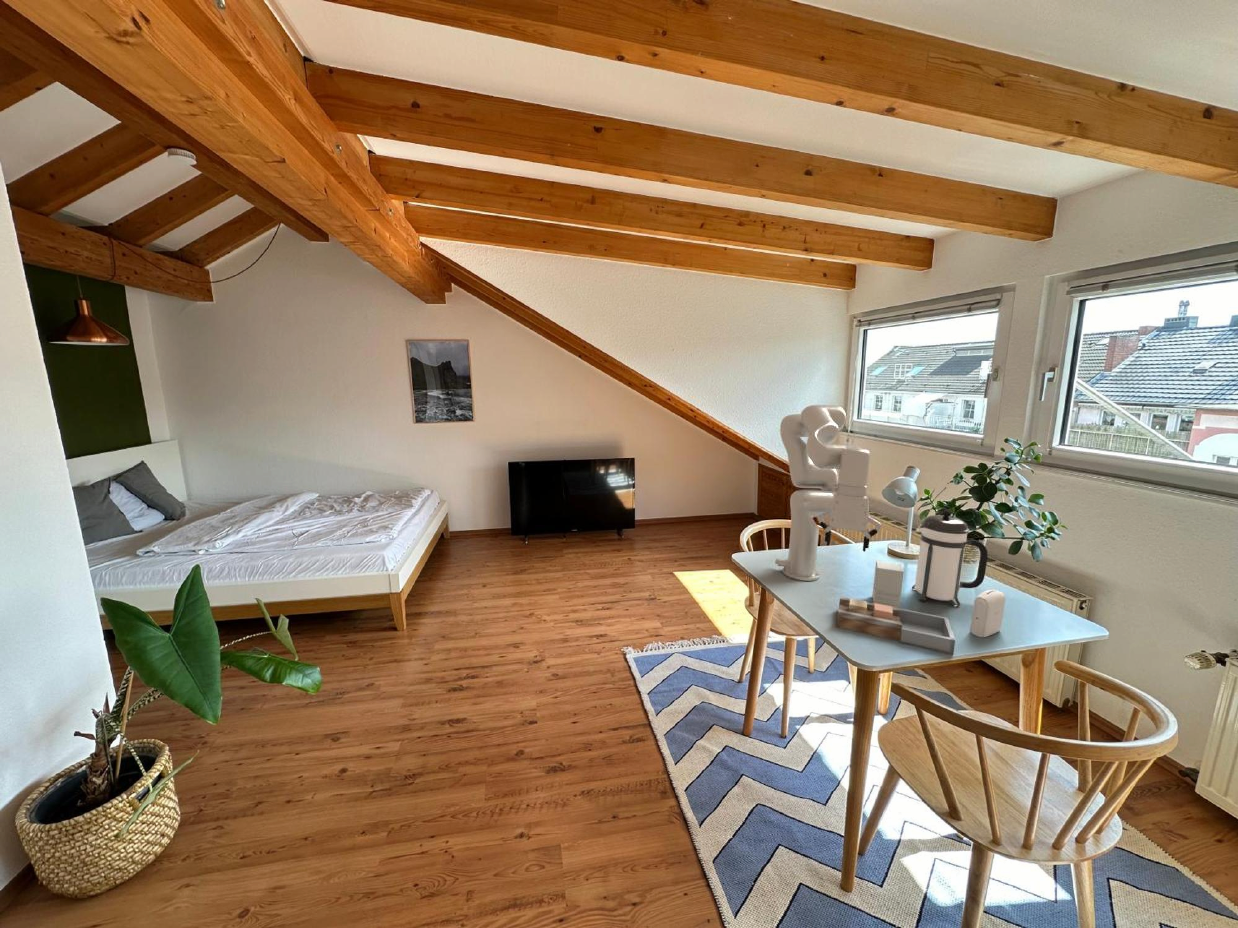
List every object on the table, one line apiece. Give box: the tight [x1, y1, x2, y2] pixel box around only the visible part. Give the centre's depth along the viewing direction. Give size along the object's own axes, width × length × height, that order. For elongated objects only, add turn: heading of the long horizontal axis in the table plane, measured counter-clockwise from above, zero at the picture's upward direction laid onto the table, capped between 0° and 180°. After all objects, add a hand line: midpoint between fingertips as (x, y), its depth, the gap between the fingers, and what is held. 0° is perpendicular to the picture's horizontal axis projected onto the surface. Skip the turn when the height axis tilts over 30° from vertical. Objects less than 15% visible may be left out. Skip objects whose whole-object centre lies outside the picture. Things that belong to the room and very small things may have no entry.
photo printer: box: [969, 589, 1006, 638], centre depth 138 cm, size 10×4×12 cm, turn 118°
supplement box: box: [871, 560, 905, 608], centre depth 155 cm, size 7×7×13 cm
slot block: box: [836, 596, 902, 642], centre depth 141 cm, size 16×12×4 cm
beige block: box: [849, 598, 868, 615], centre depth 142 cm, size 4×4×3 cm
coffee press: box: [911, 509, 989, 608], centre depth 158 cm, size 17×16×30 cm
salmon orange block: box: [873, 603, 893, 620], centre depth 139 cm, size 4×4×3 cm
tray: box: [899, 607, 956, 656], centre depth 135 cm, size 12×14×4 cm
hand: (846, 547), depth 144 cm, fingers open, 9 cm apart
